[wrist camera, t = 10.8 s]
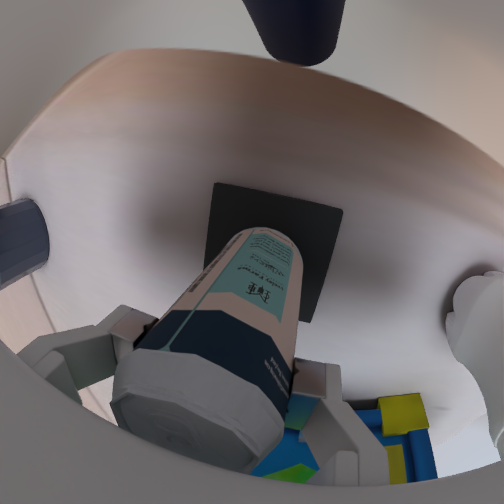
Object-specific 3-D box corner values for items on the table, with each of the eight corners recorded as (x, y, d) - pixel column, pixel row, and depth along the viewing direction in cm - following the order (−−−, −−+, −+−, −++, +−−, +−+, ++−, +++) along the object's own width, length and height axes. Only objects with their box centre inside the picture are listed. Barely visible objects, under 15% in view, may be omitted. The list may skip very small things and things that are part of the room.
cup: (13, 195, 22) (-32, 209, 15) (46, 202, 21) (-8, 221, 14) (19, 257, 24) (-20, 278, 18) (53, 274, 23) (8, 302, 17)
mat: (216, 182, 17) (213, 183, 16) (342, 209, 16) (343, 211, 15) (203, 291, 20) (200, 295, 19) (310, 318, 19) (310, 323, 18)
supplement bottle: (231, 300, 17) (141, 462, 6) (217, 229, 16) (67, 360, 5) (306, 297, 16) (285, 490, 5) (299, 220, 15) (264, 394, 4)
